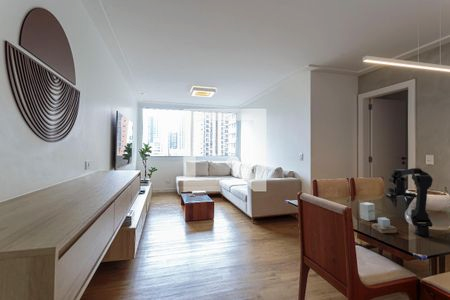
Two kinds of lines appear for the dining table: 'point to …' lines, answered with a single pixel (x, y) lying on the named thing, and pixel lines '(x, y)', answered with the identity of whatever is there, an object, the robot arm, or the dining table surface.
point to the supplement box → (367, 211)
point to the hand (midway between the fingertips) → (401, 207)
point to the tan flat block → (384, 228)
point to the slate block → (384, 222)
